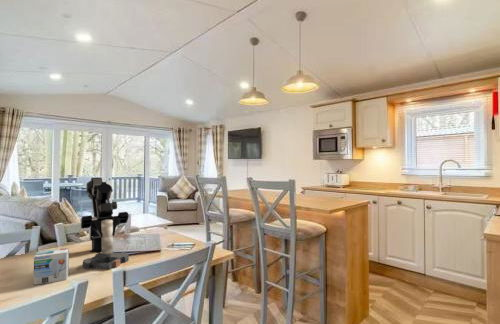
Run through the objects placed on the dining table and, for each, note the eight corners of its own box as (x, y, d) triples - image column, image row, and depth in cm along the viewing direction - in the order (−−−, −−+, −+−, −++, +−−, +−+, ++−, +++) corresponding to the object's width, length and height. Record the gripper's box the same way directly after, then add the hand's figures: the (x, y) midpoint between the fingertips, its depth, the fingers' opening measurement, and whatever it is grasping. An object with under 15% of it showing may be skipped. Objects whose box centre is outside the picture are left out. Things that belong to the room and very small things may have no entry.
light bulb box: (33, 285, 104) (32, 256, 104) (36, 278, 110) (36, 251, 110) (67, 279, 109) (67, 252, 109) (69, 273, 115) (69, 247, 115)
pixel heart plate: (78, 268, 121) (78, 262, 121) (103, 256, 136) (103, 250, 136) (110, 271, 118) (110, 265, 118) (132, 258, 133) (132, 252, 133)
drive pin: (99, 254, 122) (99, 221, 121) (105, 250, 126) (105, 219, 126) (109, 254, 121) (109, 221, 121) (114, 250, 126) (114, 219, 125)
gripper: (81, 197, 121) (83, 228, 112) (127, 194, 132) (133, 222, 123) (79, 213, 128) (82, 243, 119) (124, 208, 138) (129, 236, 130)
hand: (107, 236), depth 122 cm, fingers closed on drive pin, 4 cm apart
